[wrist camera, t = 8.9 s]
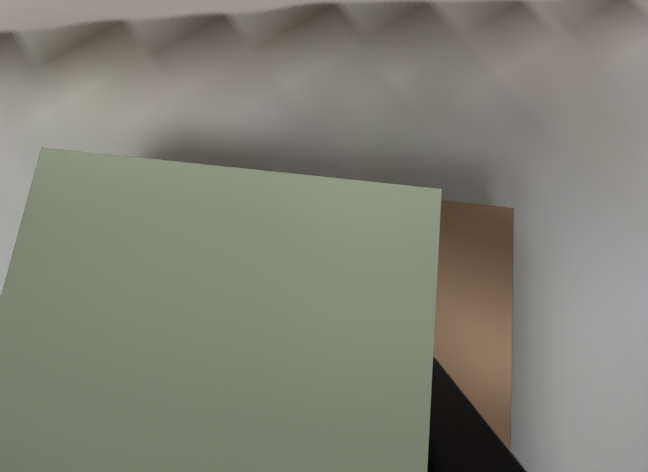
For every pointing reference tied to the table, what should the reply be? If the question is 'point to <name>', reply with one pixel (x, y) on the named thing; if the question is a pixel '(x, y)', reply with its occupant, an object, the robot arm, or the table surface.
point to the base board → (477, 307)
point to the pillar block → (216, 320)
